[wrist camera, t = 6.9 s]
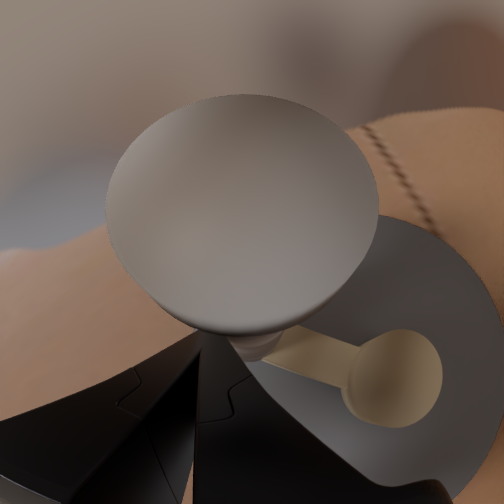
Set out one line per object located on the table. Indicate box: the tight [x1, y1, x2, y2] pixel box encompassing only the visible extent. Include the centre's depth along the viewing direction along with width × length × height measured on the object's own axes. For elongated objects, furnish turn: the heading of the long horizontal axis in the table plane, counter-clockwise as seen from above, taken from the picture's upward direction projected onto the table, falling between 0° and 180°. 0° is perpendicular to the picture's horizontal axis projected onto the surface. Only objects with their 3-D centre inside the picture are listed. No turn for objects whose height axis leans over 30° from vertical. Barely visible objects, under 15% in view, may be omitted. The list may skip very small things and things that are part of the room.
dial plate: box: [193, 215, 504, 500], centre depth 16 cm, size 22×22×1 cm
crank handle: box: [105, 94, 443, 428], centre depth 10 cm, size 13×5×13 cm, turn 67°
